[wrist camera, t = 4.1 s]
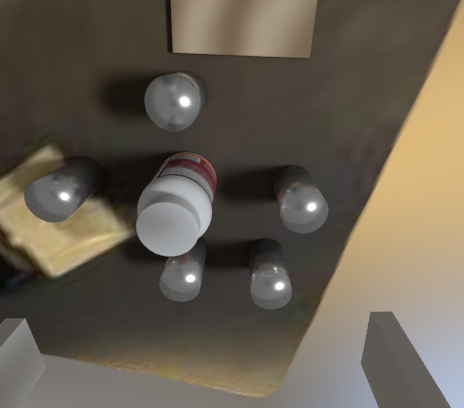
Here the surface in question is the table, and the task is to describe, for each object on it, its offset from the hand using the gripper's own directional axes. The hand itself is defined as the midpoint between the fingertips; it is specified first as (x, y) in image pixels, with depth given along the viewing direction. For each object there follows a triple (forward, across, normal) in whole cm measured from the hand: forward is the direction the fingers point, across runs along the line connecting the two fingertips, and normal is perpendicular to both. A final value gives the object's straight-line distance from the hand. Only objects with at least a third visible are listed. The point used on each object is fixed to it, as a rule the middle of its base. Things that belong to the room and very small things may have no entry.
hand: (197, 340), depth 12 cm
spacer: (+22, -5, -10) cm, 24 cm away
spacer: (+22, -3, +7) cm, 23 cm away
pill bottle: (+22, -4, -1) cm, 23 cm away
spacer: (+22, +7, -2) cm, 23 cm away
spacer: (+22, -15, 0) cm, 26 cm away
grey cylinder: (+22, +4, -11) cm, 25 cm away
